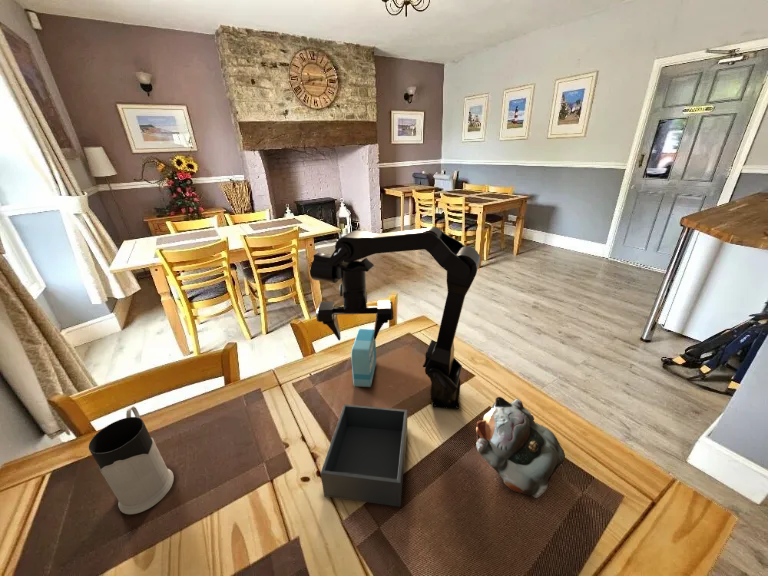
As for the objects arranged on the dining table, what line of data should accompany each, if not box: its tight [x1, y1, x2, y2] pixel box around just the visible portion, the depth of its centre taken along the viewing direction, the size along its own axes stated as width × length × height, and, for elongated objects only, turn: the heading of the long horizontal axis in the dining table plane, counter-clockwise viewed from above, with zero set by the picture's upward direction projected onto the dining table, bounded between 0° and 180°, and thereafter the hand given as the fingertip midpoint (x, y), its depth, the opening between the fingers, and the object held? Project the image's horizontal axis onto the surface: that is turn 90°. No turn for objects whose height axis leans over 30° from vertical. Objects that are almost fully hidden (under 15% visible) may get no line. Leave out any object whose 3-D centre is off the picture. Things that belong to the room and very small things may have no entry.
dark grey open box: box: [320, 404, 408, 508], centre depth 62 cm, size 14×16×7 cm
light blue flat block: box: [350, 328, 377, 388], centre depth 85 cm, size 12×4×12 cm, turn 174°
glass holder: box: [88, 405, 175, 515], centre depth 59 cm, size 9×14×15 cm, turn 27°
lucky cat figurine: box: [475, 396, 566, 499], centre depth 61 cm, size 15×12×14 cm
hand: (357, 339), depth 81 cm, fingers open, 9 cm apart
